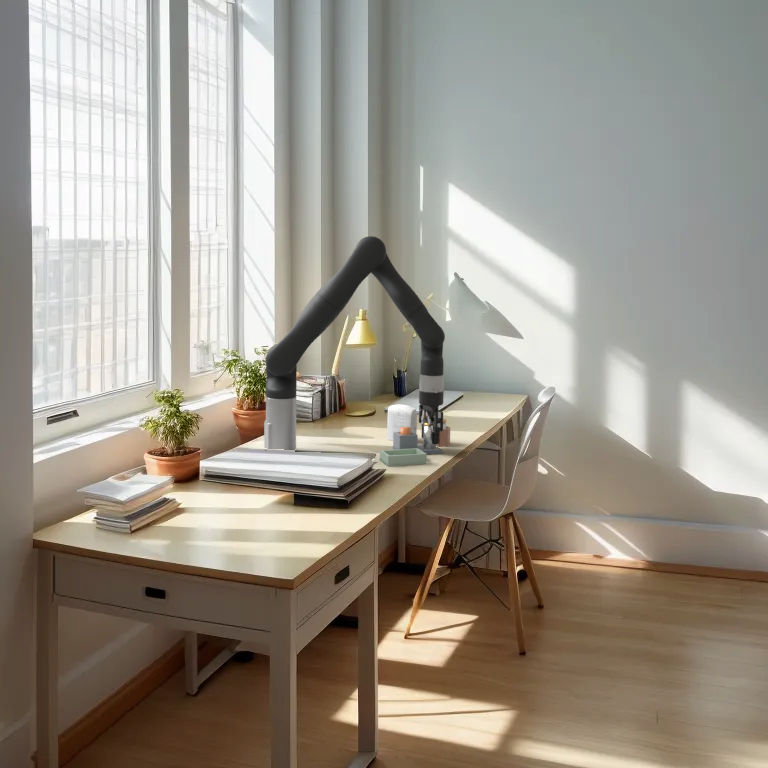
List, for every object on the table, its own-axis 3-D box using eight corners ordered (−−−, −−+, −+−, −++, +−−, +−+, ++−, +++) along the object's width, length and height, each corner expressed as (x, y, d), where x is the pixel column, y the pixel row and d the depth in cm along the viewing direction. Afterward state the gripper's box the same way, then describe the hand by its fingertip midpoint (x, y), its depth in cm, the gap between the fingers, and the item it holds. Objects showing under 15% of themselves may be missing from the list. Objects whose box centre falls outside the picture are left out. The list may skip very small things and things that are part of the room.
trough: (388, 466, 257) (388, 456, 257) (379, 460, 264) (379, 450, 264) (426, 463, 261) (426, 453, 261) (417, 457, 268) (417, 448, 268)
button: (402, 444, 273) (402, 429, 272) (398, 442, 276) (399, 426, 275) (411, 444, 274) (412, 428, 273) (408, 442, 277) (408, 426, 276)
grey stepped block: (402, 457, 268) (403, 438, 268) (392, 450, 277) (393, 431, 276) (442, 454, 273) (442, 435, 272) (431, 448, 281) (431, 429, 280)
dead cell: (435, 446, 283) (436, 419, 281) (431, 443, 286) (431, 417, 285) (447, 445, 284) (448, 419, 283) (442, 442, 288) (443, 417, 286)
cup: (433, 448, 281) (434, 429, 280) (426, 443, 287) (426, 425, 286) (452, 447, 283) (452, 428, 282) (444, 442, 289) (445, 424, 288)
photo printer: (418, 443, 288) (419, 405, 286) (411, 445, 285) (412, 407, 283) (391, 438, 294) (392, 402, 292) (384, 441, 290) (385, 403, 289)
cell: (426, 449, 272) (426, 422, 270) (421, 447, 276) (422, 420, 274) (438, 449, 273) (438, 422, 272) (433, 446, 277) (434, 419, 275)
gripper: (411, 386, 277) (410, 437, 279) (428, 393, 264) (427, 446, 266) (433, 385, 279) (432, 435, 282) (452, 392, 266) (450, 445, 269)
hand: (430, 441), depth 274 cm, fingers open, 8 cm apart
